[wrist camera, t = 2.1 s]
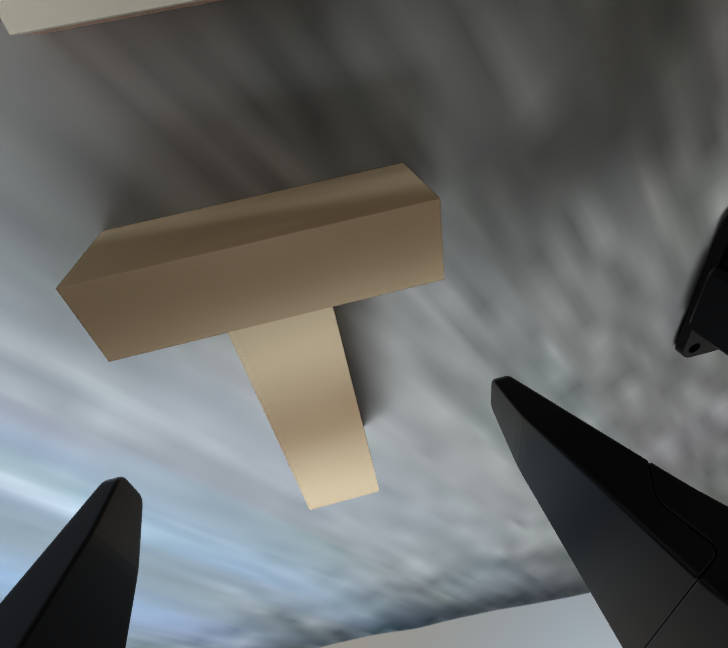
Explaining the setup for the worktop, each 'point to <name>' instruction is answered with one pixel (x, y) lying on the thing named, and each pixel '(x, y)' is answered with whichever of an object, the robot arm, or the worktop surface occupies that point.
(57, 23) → the pale beige block
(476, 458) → the worktop surface
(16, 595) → the robot arm
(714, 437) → the worktop surface
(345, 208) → the wooden pusher
